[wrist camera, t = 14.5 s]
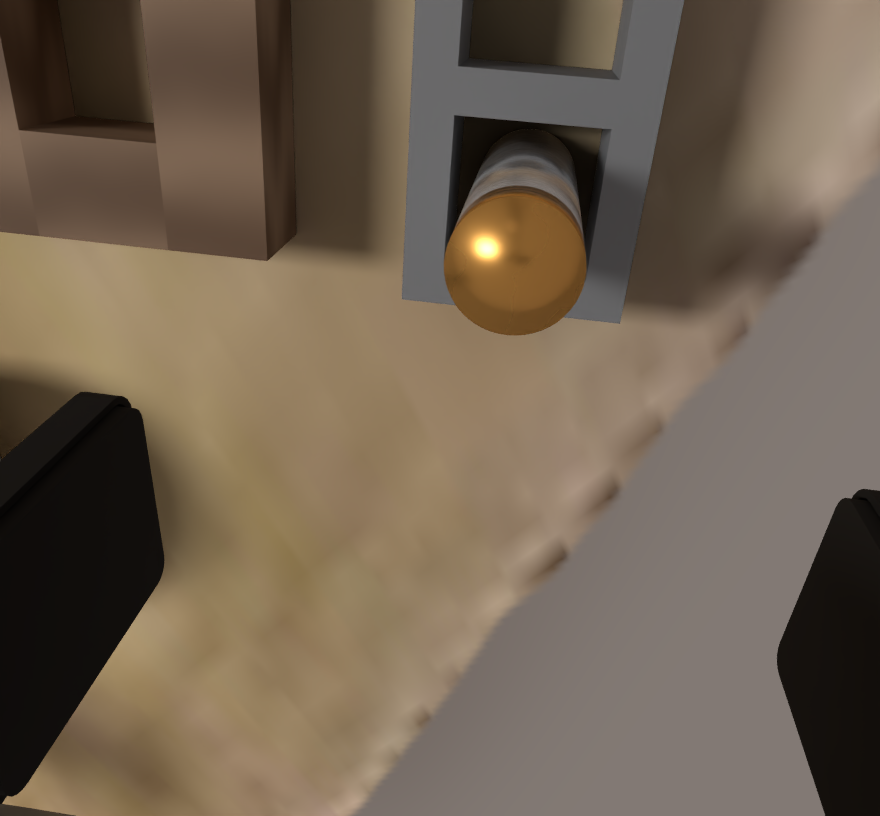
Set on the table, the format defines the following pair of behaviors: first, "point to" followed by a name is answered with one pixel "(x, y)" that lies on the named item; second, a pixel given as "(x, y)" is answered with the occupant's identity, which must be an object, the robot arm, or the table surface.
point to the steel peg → (519, 237)
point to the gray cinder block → (542, 101)
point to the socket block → (155, 133)
